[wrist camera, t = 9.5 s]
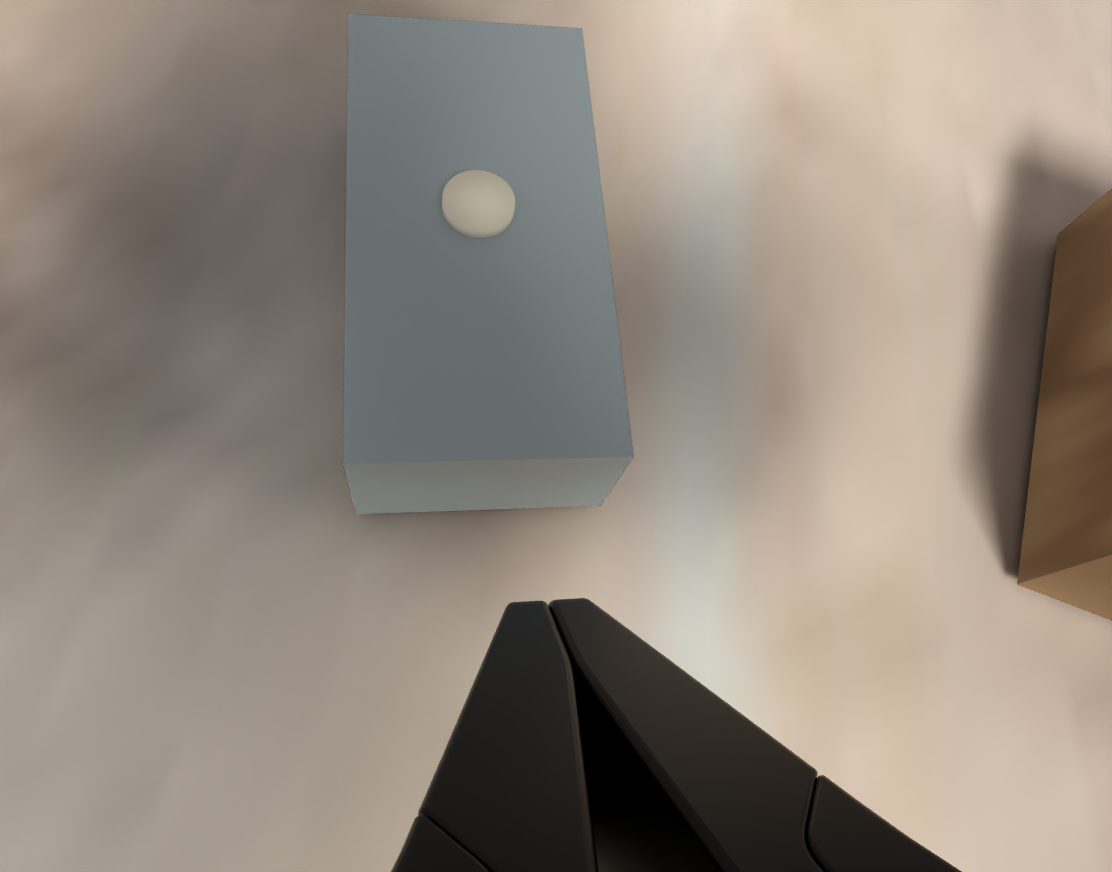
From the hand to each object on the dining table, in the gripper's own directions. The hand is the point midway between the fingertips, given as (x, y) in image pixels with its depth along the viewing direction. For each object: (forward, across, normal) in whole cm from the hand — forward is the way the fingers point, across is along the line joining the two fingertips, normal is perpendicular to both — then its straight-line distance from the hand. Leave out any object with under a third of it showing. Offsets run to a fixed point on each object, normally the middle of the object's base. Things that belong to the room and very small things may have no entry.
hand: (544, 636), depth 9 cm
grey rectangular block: (+7, 0, +2) cm, 7 cm away
